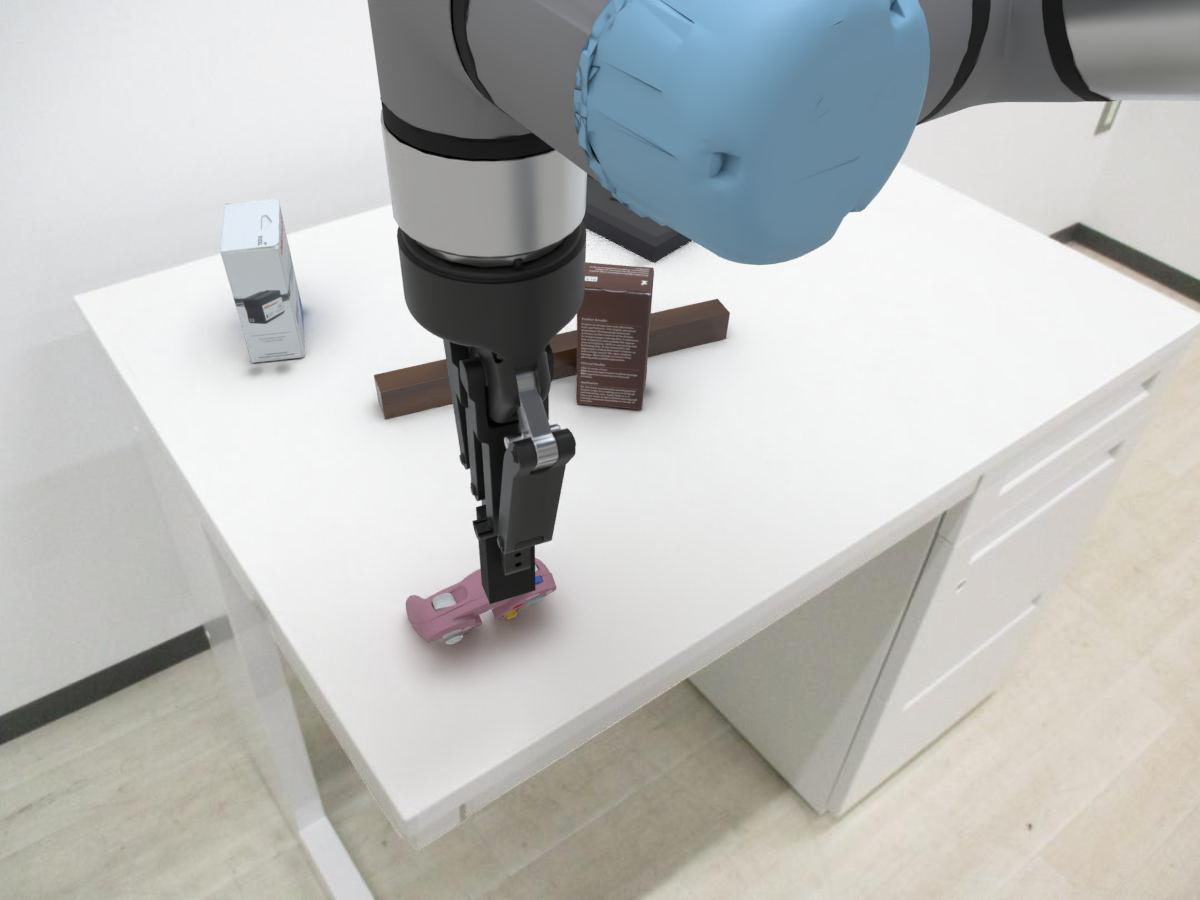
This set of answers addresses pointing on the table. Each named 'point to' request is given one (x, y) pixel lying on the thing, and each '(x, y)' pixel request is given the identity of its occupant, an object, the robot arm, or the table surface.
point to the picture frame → (627, 225)
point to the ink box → (262, 279)
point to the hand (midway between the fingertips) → (508, 587)
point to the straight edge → (667, 334)
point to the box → (614, 335)
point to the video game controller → (469, 606)
